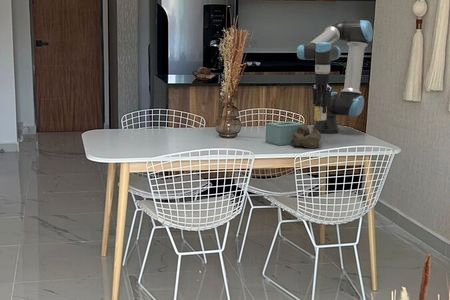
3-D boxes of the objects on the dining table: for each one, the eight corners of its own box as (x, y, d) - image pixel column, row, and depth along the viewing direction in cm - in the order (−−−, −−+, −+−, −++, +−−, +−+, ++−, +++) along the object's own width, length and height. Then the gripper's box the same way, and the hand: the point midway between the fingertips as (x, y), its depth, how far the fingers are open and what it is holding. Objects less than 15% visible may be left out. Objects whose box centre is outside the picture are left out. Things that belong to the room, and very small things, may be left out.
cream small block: (322, 119, 308) (323, 106, 306) (326, 120, 305) (326, 106, 304) (314, 120, 304) (314, 106, 303) (317, 120, 302) (318, 107, 301)
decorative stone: (305, 139, 286) (288, 123, 297) (300, 158, 292) (283, 142, 302) (330, 135, 294) (312, 120, 305) (325, 153, 300) (307, 138, 311)
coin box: (289, 139, 318) (290, 121, 316) (304, 143, 308) (304, 124, 306) (265, 142, 309) (265, 123, 307) (279, 145, 299) (280, 126, 297)
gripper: (306, 72, 305) (305, 117, 309) (327, 74, 292) (325, 121, 297) (317, 71, 309) (315, 116, 313) (338, 73, 296) (336, 120, 301)
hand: (320, 119), depth 305 cm, fingers closed on cream small block, 3 cm apart
